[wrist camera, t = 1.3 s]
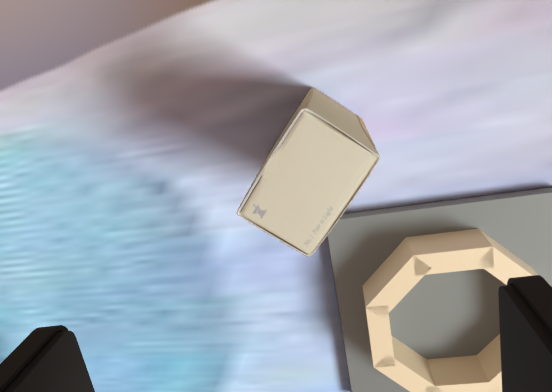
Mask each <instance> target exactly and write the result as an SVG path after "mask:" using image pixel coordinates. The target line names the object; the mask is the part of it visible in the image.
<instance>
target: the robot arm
mask: <svg viewBox="0 0 552 392" xmlns="http://www.w3.org/2000/svg"><path fill="white" fill-rule="evenodd" d="M498 297H499V323H500V349H501V375H502V392H552V287H551V286H550V285H549V284H548V283H547V281H546V280H545V279H544V278H543V277H542V276H540V275H534V276H524V277H515V278H509V279H508V282H507V286H500V287H499V290H498ZM0 392H95V391H94V388H93V385H92V382H91V379H90V377H89V374H88V371H87V368H86V365H85V362H84V359H83V357H82V354H81V351H80V348H79V345H78V342H77V339H76V337H75V335H74V333H73V332H72V331H68V329H67V328H66V327H65V326H62V325H59V326H50V327H40V328H36V329H35V330H34V331H33V332H32V333H31V334H30V335H29V336H28V337H27V338H26V339H25V340H24V341H23V342H22V343H21V344H20V345H19V346H18V347H17V348H16V349H15V350H14V351H13V352H12V353H11V354H10V355H9V356H8V357H7V358H6V359H5V360H4V361H3V362H2V363H1V364H0Z"/></svg>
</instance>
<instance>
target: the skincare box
mask: <svg viewBox="0 0 552 392" xmlns="http://www.w3.org/2000/svg"><path fill="white" fill-rule="evenodd" d="M379 160H380V156H379V154H378V152H377V150H376V148H375V145H374V143H373V141H372V139H371V137H370V135H369V133H368V131H367V129H366V126H365V124H364V122H363V120H362V119H361V118H360V117H358V116H357V115H355V114H354V113H353V112H351V111H350V110H348V109H347V108H345V107H344V106H342V105H341V104H339V103H338V102H336V101H335V100H333V99H332V98H330V97H329V96H327V95H325V94H324V93H322V92H321V91H319V90H317V89H316V88H311V89H310V90H309V91H308V93H307V94H306V96H305V98H304V99H303V101H302V102H301V104H300V105H299V107H298V108H297V110H296V111H295V113H294V114H293V116H292V117H291V119H290V121H289V122H288V124H287V125H286V127H285V128H284V130H283V132H282V133H281V135H280V136H279V138H278V140H277V141H276V143H275V145H274V146H273V148H272V150H271V151H270V153H269V155H268V156H267V158H266V160H265V162H264V164H263V165H262V167H261V169H260V171H259V173H258V174H257V176H256V178H255V180H254V182H253V183H252V185H251V187H250V189H249V191H248V192H247V194H246V196H245V198H244V200H243V201H242V203H241V205H240V207H239V209H238V211H237V215H238V216H240V217H241V218H243V219H245V220H246V221H248V222H249V223H251V224H253V225H254V226H256V227H258V228H259V229H261V230H262V231H264V232H265V233H267V234H269V235H271V236H272V237H274V238H276V239H277V240H279V241H280V242H282V243H284V244H286V245H287V246H289V247H291V248H293V249H294V250H296V251H298V252H300V253H302V254H303V255H305V256H307V257H310V256H311V255H312V254H313V253H314V252H315V251H316V249H317V248H318V247H319V246H320V244H321V243H322V242H323V241H324V239H325V238H326V236H327V235H328V234H329V232H330V231H331V230H332V228H333V227H334V226H335V224H336V223H337V222H338V220H339V219H340V217H341V216H342V215H343V213H344V212H345V210H346V209H347V207H348V206H349V204H350V203H351V202H352V200H353V199H354V197H355V196H356V194H357V193H358V191H359V190H360V189H361V187H362V186H363V184H364V183H365V181H366V180H367V178H368V177H369V175H370V174H371V172H372V171H373V169H374V168H375V166H376V165H377V163H378V162H379Z"/></svg>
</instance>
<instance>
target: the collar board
mask: <svg viewBox="0 0 552 392" xmlns="http://www.w3.org/2000/svg"><path fill="white" fill-rule="evenodd" d="M328 241H329V248H330V254H331V261H332V267H333V274H334V280H335V287H336V293H337V300H338V306H339V313H340V319H341V326H342V332H343V338H344V345H345V351H346V358H347V364H348V371H349V377H350V384H351V390H352V392H502V375H501V349H500V323H499V297H498V290H499V287H500V286H507V282H508V279H509V278H515V277H524V276H534V275H540V276H542V277H543V278H544V279H545V280H546V281H547V283H548V284H549V285H550V286H551V287H552V187H549V188H541V189H533V190H526V191H518V192H510V193H502V194H494V195H487V196H479V197H471V198H463V199H456V200H448V201H440V202H432V203H424V204H417V205H409V206H401V207H393V208H385V209H378V210H370V211H362V212H354V213H346V214H343V215H342V216H341V217H340V219H339V220H338V222H337V223H336V224H335V226H334V227H333V228H332V230H331V231H330V232H329V234H328Z"/></svg>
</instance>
